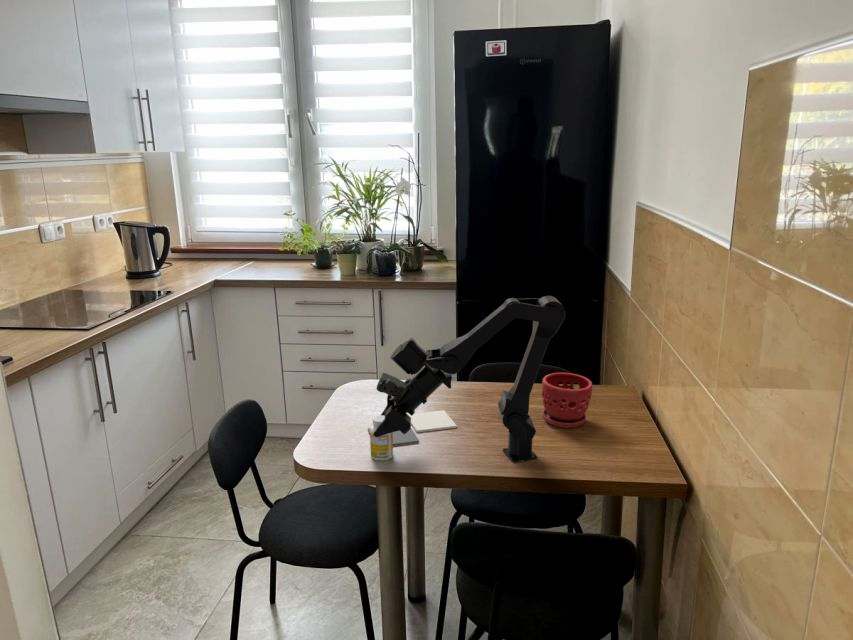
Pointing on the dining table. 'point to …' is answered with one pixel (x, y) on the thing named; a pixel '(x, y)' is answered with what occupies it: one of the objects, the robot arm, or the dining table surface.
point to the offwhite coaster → (431, 421)
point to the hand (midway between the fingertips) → (375, 430)
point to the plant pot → (565, 399)
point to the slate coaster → (403, 437)
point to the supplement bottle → (380, 442)
